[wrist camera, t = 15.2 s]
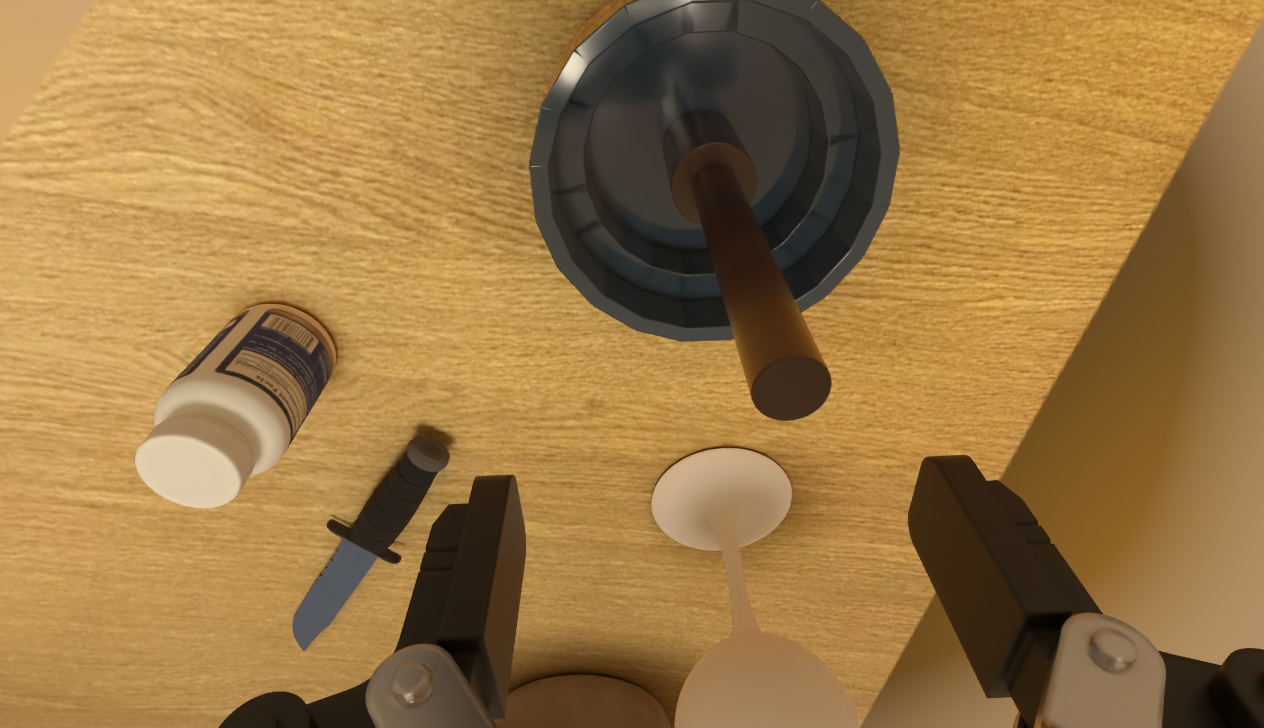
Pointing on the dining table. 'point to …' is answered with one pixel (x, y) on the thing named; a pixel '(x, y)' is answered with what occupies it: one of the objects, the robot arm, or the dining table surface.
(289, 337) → the pill bottle
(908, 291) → the dining table surface
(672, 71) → the bowl
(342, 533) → the knife
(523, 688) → the flower pot
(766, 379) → the muddler
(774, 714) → the wineglass
